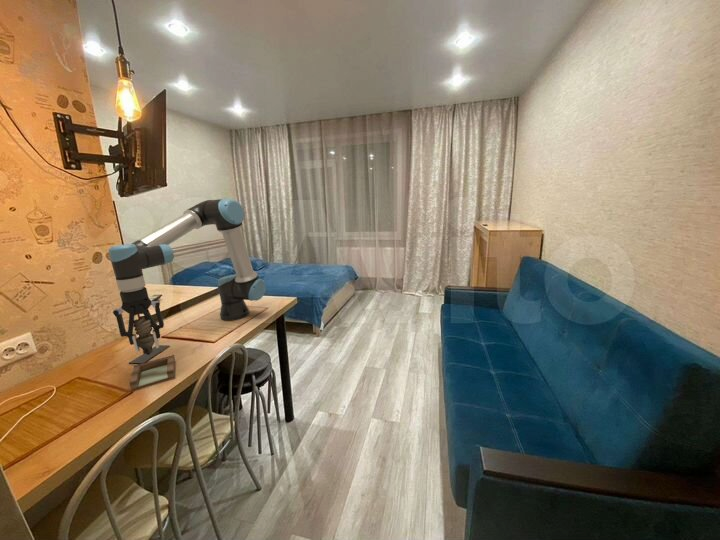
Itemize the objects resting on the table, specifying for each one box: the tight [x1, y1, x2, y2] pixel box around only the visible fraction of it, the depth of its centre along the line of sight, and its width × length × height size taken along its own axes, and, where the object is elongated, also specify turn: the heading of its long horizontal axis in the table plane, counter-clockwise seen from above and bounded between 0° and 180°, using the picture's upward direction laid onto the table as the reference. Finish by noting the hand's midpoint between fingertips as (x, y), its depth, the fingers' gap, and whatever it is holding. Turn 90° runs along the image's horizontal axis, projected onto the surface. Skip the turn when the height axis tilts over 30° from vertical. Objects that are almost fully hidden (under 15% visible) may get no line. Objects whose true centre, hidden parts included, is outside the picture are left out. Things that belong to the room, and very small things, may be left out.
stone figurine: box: [133, 315, 155, 355], centre depth 105 cm, size 6×6×15 cm
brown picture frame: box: [128, 354, 177, 392], centre depth 109 cm, size 13×13×4 cm
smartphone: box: [128, 344, 171, 365], centre depth 125 cm, size 7×1×15 cm
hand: (148, 348), depth 106 cm, fingers closed on stone figurine, 5 cm apart
